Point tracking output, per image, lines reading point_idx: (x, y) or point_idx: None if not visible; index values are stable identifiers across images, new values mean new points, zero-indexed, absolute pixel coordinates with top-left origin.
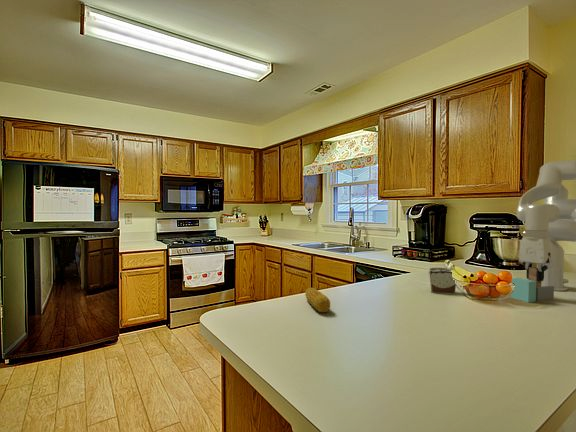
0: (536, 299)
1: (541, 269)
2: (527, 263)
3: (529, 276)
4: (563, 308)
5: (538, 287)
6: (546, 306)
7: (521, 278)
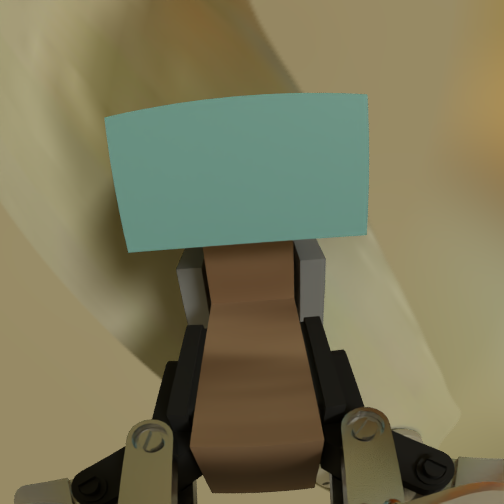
0: None
1: (129, 449)
2: (368, 492)
3: (293, 341)
4: (46, 225)
5: (184, 281)
6: (79, 158)
7: (322, 232)
